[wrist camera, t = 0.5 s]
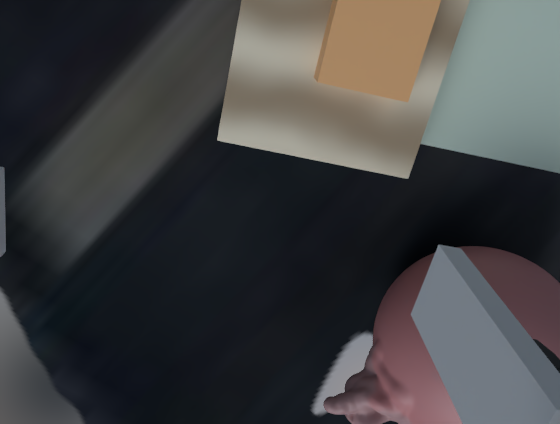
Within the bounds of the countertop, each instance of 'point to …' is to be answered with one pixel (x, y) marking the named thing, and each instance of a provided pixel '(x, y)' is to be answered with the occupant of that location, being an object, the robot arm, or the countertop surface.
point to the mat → (502, 85)
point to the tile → (375, 45)
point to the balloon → (414, 355)
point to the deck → (324, 91)
